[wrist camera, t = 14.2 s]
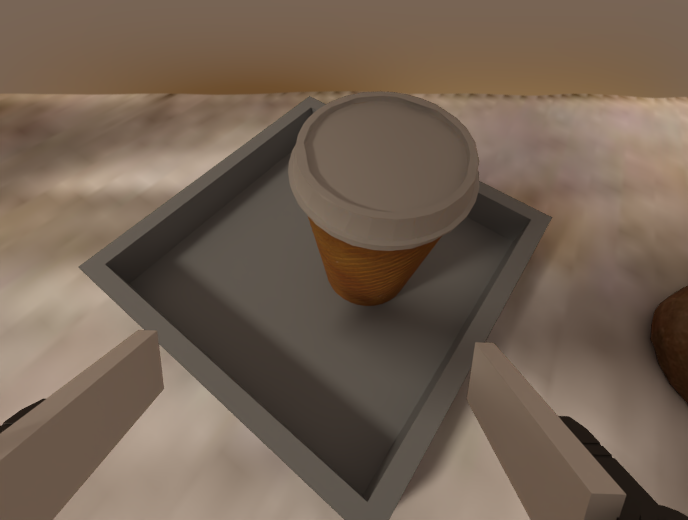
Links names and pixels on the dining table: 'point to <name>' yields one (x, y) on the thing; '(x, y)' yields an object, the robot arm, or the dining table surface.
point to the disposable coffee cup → (381, 187)
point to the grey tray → (315, 319)
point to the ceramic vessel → (673, 340)
